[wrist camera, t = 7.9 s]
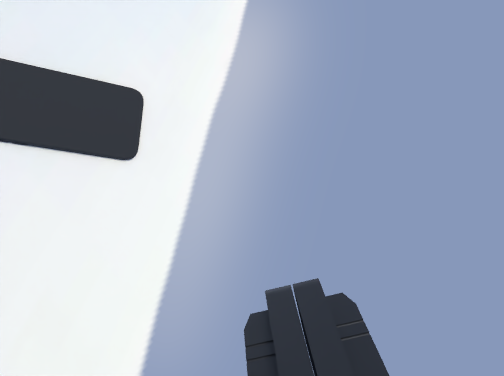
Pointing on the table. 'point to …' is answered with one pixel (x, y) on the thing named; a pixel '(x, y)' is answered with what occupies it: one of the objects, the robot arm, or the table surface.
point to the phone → (68, 112)
